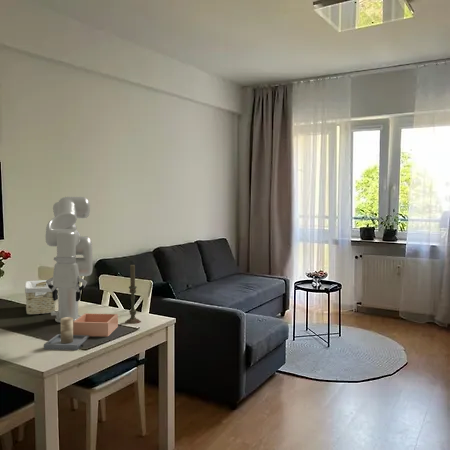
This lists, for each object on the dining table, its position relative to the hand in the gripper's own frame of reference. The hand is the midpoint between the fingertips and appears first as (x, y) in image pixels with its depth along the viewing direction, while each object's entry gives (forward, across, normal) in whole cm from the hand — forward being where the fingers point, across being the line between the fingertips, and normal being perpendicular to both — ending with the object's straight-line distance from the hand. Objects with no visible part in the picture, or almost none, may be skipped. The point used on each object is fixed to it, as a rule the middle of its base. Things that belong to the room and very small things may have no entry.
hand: (66, 300), depth 200 cm
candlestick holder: (+19, +20, +33) cm, 44 cm away
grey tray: (+19, 0, -1) cm, 19 cm away
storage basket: (+20, -37, +57) cm, 71 cm away
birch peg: (+18, 0, -1) cm, 18 cm away
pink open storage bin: (+19, +7, +16) cm, 26 cm away
